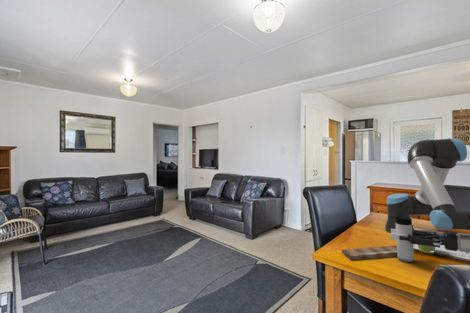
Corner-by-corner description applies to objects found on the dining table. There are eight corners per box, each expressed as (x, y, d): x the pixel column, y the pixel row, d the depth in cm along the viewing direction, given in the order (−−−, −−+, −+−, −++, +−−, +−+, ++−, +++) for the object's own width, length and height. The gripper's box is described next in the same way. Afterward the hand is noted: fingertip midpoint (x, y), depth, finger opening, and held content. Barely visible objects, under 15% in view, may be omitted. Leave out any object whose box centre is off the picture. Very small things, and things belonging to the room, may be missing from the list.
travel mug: (393, 257, 110) (391, 215, 111) (406, 255, 111) (403, 214, 111) (404, 262, 104) (401, 218, 104) (417, 261, 105) (415, 217, 105)
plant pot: (433, 248, 119) (432, 231, 119) (443, 256, 110) (442, 237, 110) (411, 247, 122) (410, 230, 122) (419, 254, 113) (418, 236, 113)
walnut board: (398, 249, 120) (397, 245, 120) (410, 255, 112) (410, 251, 112) (342, 253, 118) (341, 249, 118) (350, 260, 110) (350, 256, 110)
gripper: (462, 259, 89) (390, 248, 103) (453, 243, 105) (391, 235, 118) (461, 240, 90) (389, 231, 103) (452, 226, 105) (390, 221, 119)
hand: (390, 233), depth 111 cm, fingers closed on travel mug, 6 cm apart
